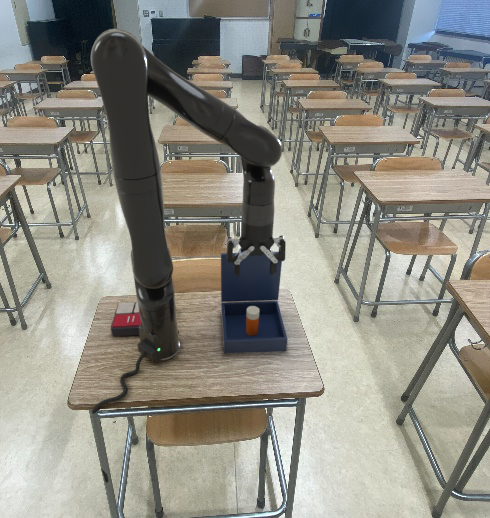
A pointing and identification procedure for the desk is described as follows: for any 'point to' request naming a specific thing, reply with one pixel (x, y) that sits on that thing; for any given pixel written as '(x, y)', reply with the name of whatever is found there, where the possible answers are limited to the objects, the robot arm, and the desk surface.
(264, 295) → the lid
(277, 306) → the pencil box
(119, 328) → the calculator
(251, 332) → the glue stick
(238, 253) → the robot arm
